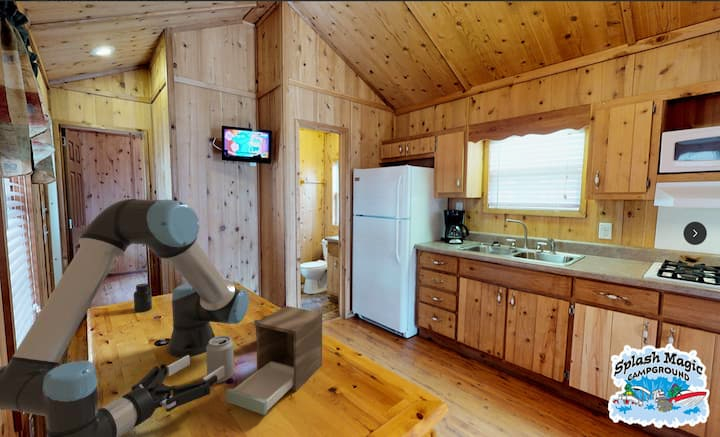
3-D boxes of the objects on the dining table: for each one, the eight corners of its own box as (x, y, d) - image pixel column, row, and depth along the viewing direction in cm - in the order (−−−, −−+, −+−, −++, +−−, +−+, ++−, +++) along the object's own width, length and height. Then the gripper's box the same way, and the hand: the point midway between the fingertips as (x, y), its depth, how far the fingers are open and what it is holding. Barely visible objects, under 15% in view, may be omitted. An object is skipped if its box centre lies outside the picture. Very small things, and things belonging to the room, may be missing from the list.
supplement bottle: (148, 306, 152) (147, 281, 151) (154, 309, 148) (153, 284, 147) (131, 310, 147) (130, 285, 146) (137, 313, 143) (136, 288, 142)
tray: (226, 401, 84) (226, 390, 83) (269, 367, 100) (269, 358, 99) (264, 415, 79) (264, 403, 79) (303, 377, 95) (303, 367, 95)
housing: (257, 379, 96) (256, 322, 94) (286, 356, 109) (286, 305, 108) (296, 391, 90) (296, 331, 89) (321, 365, 104) (322, 312, 103)
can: (223, 386, 92) (223, 347, 91) (201, 382, 94) (200, 343, 93) (238, 371, 100) (238, 335, 98) (217, 368, 101) (216, 332, 100)
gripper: (95, 412, 76) (175, 367, 96) (165, 445, 67) (239, 388, 86) (93, 382, 76) (174, 343, 95) (164, 412, 66) (239, 362, 86)
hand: (205, 365), depth 91 cm, fingers open, 13 cm apart
